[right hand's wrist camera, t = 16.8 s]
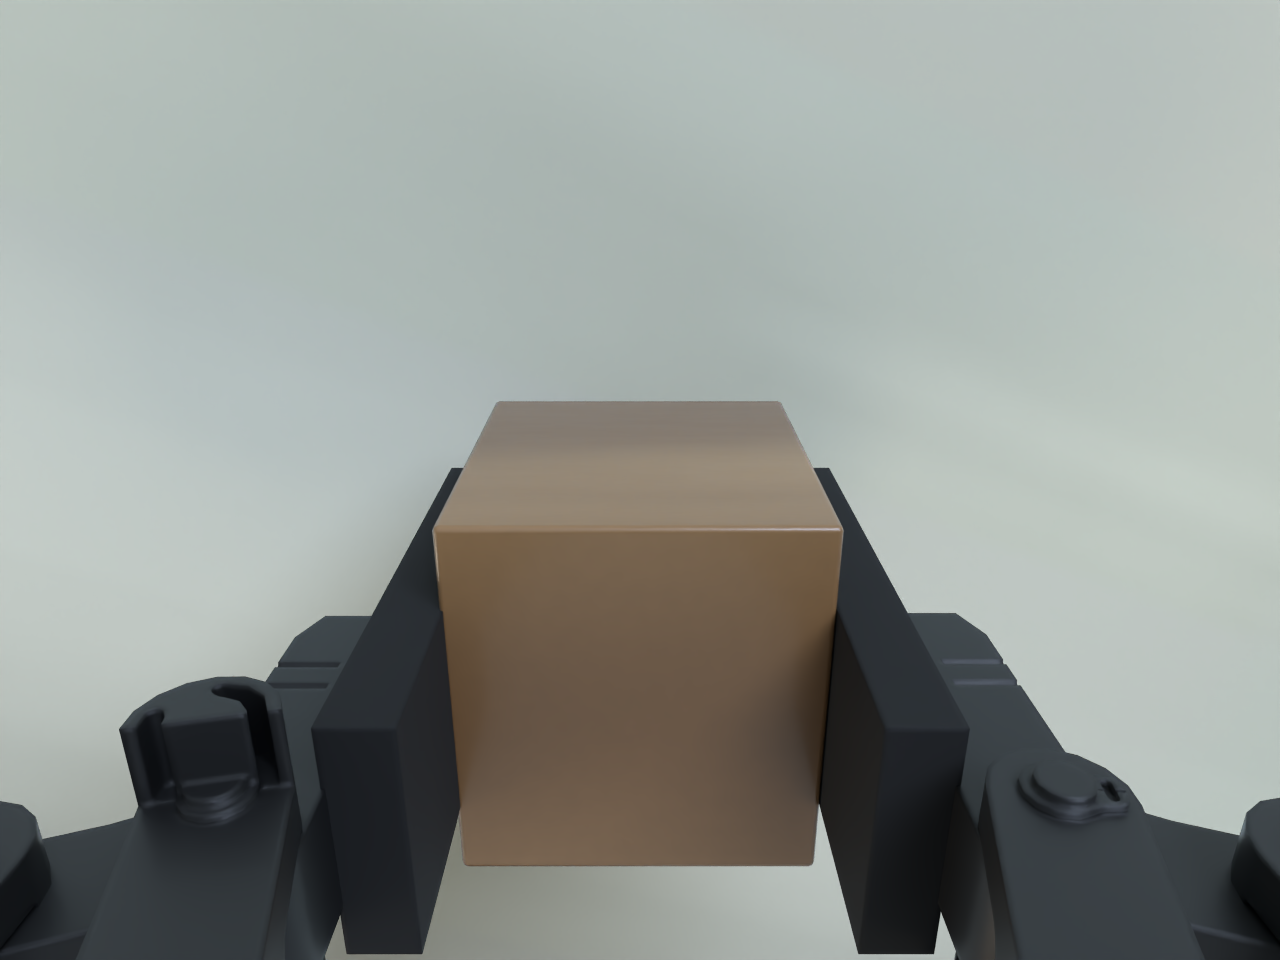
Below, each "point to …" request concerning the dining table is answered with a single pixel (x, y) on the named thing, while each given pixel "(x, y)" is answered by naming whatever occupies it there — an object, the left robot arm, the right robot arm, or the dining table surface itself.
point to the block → (638, 635)
